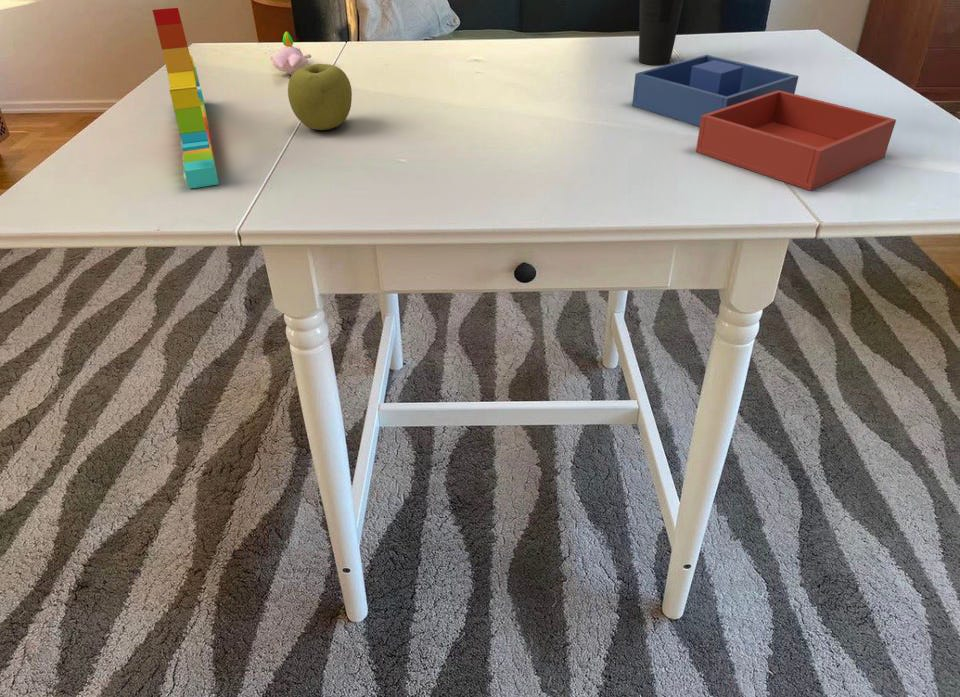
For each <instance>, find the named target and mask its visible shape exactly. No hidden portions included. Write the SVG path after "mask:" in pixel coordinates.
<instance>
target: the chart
mask: <svg viewBox="0 0 960 697" xmlns="http://www.w3.org/2000/svg"><path fill="white" fill-rule="evenodd" d="M152 14H153V18H154V22H155V26H156V27H155V28H156V30H157V34H158V40H159V43H160V47H161V52H162V56H163V59H164V64H165V68H166V72H167V77H168V78H167V79H168V84H169V95H170V99H171V103H172V107H173V112H174V115H175V119H176V122H177V123H176V124H177V128H178V133H179V136H180V145H181V154H182V155H181V159H182V162H183V163H182V169H183V170H182V173H183V180H184V182H185V183H187V187H188V189H189V190H191V189H196V188H202V187H210V186H216V185H217V186H218V185H219V179H218V178H219V177H218V172H217V168H216V167H217V166H216V161H215V155H214V149H213V145H212V139H211V132H210V125H209V121H208V120H209V119H208V114H207V110H206V103H205V99H204V96H203V91H202V88H200V87H201V85H200V80H199V75H198V70H197V67H196V66H195V62H194V58H193V56H192V54H191V53H190V49H189V45H188V42H187V39H186V34H185V30H184V26H183V21H182V18H181V13H180V10H179V7H170V8H158V9H157V8H156V9H152ZM198 87H199V88H198Z"/></svg>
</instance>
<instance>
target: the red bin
mask: <svg viewBox="0 0 960 697" xmlns="http://www.w3.org/2000/svg"><path fill="white" fill-rule="evenodd" d="M896 123H897V119H896V118H892V117H888V116H884V115H879V114H876V113H872V112H869V111H863V110H859V109H856V108H853V107H848V106H844V105H841V104H836V103H831V102H828V101H825V100H819V99H816V98H812V97H807V96H804V95H800V94H796V93H795V94H792V93H788V92H784V91H780V90H777V91H774V92H771V93H768V94H765V95H762V96H759V97H756V98H753V99H750V100H747V101H744V102H741V103H738V104H735V105H732V106H729V107H726V108H723V109H719V110H716V111H713V112H710V113H707V114H704V115H702V116H701V122H700V127H699V130H698V136H697V142H696V143H697V144H696V148H695V152H696V153H699V154H702V155H704V156H708V157H709V158H710V157H711V158H712V159H713V158H714V159H716V160H719V161H722V162H725V163H728V164H731V165H734V166H737V167H740V168H743V169H745V170H749V171H752V172H754V173H758V174H760V175H763V176H766V177H769V178H772V179H775V180H777V181H780V182H784V183H786V184H789V185H792V186H795V187H798V188H801V189H804V190H807V191H810V192H811V191H814V190H816V189H819V188H820V187H822V186H825V185H826V184H828V183H831V182H833V181H835V180H838V179H840V178H841V177H844V176H846V175H848V174H850V173H853V172H855V171H857V170H859V169H861V168H864V167H866V166H868V165H870V164H872V163H875V162H877V161H879V160H880V159H883V158H885V157H886V154H887V150H888V147H889V144H890V140H891V138H892V135H893V132H894V128H895V125H896Z"/></svg>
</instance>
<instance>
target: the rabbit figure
mask: <svg viewBox="0 0 960 697" xmlns="http://www.w3.org/2000/svg"><path fill="white" fill-rule="evenodd" d="M282 44H283V46H284V47H282V48H281V49H280V50H278V52H277V53H276V56H271V57H269V58H270V60H271V61H272V65H273V67H274V68H275V69H277V70H279V71H281V72H285V73H286V74H287V75H291V76H292V74H293V73H294V72H295V71H296V70H298V69H299V68H302V67H304V66H308V59H310V58H312V55H311V54H310V53H309V54H308V53H307V54H306V55H304V54H303V52H302V51H301V48H298V47H296V46H293V45H294V41H293V37H292V36H291V35H290V32H289V31H285V32H284V33H283V37H282Z"/></svg>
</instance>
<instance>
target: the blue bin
mask: <svg viewBox="0 0 960 697" xmlns="http://www.w3.org/2000/svg"><path fill="white" fill-rule="evenodd" d="M713 60H717V61H721V62H725V63H730V64H734V65H738V66H742V67H744V69H743V74H742V80H741V85H740V90H739V93H737V94H733V95H730V96H727V97H726V96H723V95H719V94H716V93H712V92H708V91H705V90H701V89H697V88H693V87H690V86H689V84H690V77H691V71H692V66H695V65H698V64H702V63H706V62H709V61H713ZM799 77H800V76H799V75H796V74H792V73H788V72H784V71H779V70H775V69H771V68H768V67H767V68H766V67H762V66H757V65H754V64H749V63H746V62H745V63H744V62H740V61H735V60H732V59H727V58H722V57H718V56H715V55H709V54H703V55H699V56H695V57H692V58H688V59H685V60H684V59H683V60H681V61H677V62H673V63H670V64H669V63H668V64H664V65H661V66H658V67H655V68H650V69H647V70H643V71H640V72H635V76H634V84H633V93H632V102H631V106H633V107H636V108H639V109H641V110H645V111H649V112H650V113H651V112H652V113H655V114H658V115H662V116H664V117H668V118H671V119H674V120H677V121H681V122H684V123H687V124H690V125H692V126H695V127H699V128H700V122H701V116H702V115H704V114H707V113H710V112H713V111H716V110H719V109H723V108H726V107H729V106H732V105H735V104H738V103H741V102H744V101H747V100H750V99H753V98H756V97H759V96H762V95H765V94H768V93H771V92H774V91H777V90H780V91H784V92H788V93H792V94H796V89H797V85H798V81H799Z"/></svg>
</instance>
